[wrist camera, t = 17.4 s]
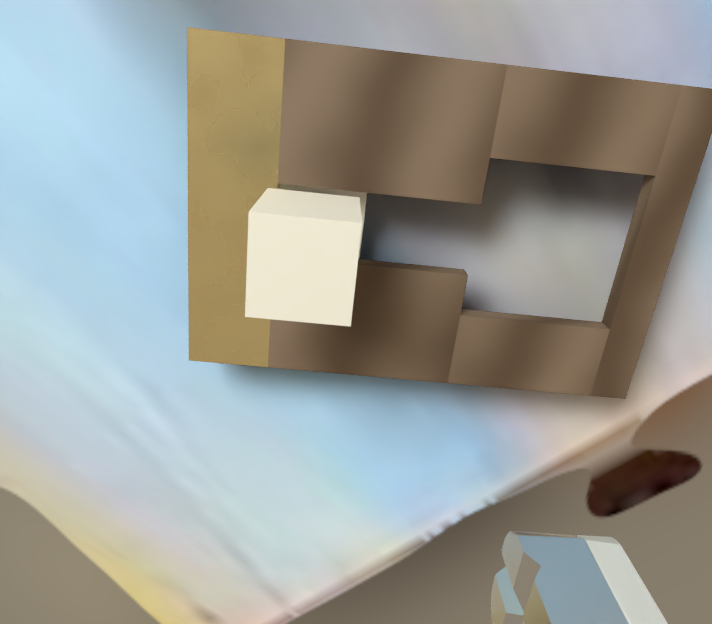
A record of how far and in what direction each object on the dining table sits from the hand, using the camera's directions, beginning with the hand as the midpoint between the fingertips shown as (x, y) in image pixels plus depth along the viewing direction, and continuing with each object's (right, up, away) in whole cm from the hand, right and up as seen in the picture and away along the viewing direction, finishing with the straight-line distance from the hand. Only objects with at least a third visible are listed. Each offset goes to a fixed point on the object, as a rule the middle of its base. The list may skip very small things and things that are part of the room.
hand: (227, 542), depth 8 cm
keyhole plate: (+6, +8, +23) cm, 25 cm away
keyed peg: (0, +9, +22) cm, 24 cm away
